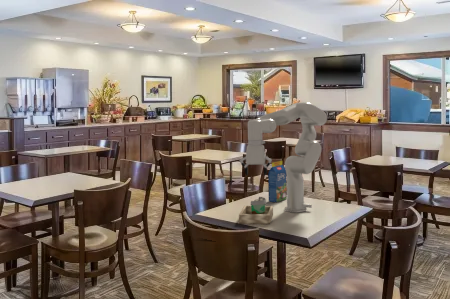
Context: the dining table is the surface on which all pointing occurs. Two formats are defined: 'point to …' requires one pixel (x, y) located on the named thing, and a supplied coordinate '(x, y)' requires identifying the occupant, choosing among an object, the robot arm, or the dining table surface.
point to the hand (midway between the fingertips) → (256, 175)
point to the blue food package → (277, 182)
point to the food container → (258, 206)
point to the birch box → (255, 216)
